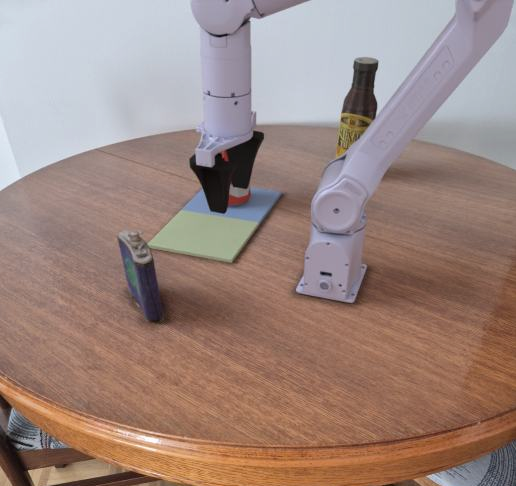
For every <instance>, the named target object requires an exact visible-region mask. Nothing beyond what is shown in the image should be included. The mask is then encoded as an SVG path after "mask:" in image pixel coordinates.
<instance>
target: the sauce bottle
mask: <svg viewBox="0 0 516 486" xmlns="http://www.w3.org/2000/svg"><path fill="white" fill-rule="evenodd" d="M352 68H353V74H352V82H351V86H350V88H349V91H348V92H347V94H346V96H345V97H344V99H343V103H342V108H341V113H340V118H339V127H338V133H337V134H338V135H337V143H336V151H335V157H334V159H336V158H338V157H340V156H342V155H343V154H344V153H345V152H346V151H347V150H348V149H349V147H350V146H351V145H352V144H353V143H354V142H356V141H357V140H359V139H360V137H361V136H362V135H363V133H364V132H365V131H366V130H367V128H368V127H369V126H370V124H371V123H372V122H373V120H374V119H375V118H376V117H377V111H378V100H377V98H376V96H375V81H376V75H377V71H378V68H379V59H377V58H375V57H370V56H369V57H368V56H361V57H356V58H354V60H353V65H352Z"/></svg>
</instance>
